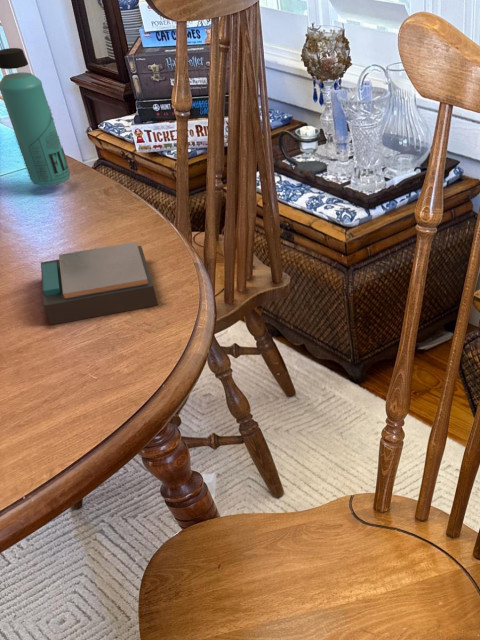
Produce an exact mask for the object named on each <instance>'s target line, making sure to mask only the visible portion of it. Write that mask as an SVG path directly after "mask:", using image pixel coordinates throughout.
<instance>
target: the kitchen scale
mask: <svg viewBox="0 0 480 640" xmlns="http://www.w3.org/2000/svg"><path fill="white" fill-rule="evenodd" d="M40 272H41V273H40V274H41V286H42V287H41V289H42V301H43V302H42V303H43V308H44V312H45V314H46V317H47V319H48V322H49V325H50V326H55V325H59V324H63V323H64V324H65V323H69V322H75V321H80V320H86V319H90V318H97V317H102V316H109V315H112V314H119V313H124V312H129V311H134V310H140V309H146V308H151V307H156V306H159V302H158V298H157V295H156V290H155V287H154V286H155V285H154V284H153V280H152V276H151V273H150V270H149V266H148V263H147V260H146V257H145V253H144V250H143V247H142V245H138V242H137V241H133V242H126V243H120V244H115V245H109V246H103V247H97V248H90V249H85V250H78V251H73V252H66V253H61V254H58V259H54V260H47V261H41V262H40Z"/></svg>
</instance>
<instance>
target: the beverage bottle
mask: <svg viewBox="0 0 480 640" xmlns="http://www.w3.org/2000/svg"><path fill="white" fill-rule="evenodd" d="M28 65H29V62H28V59H27V57H26V55H25V52H24V50H23V49H22V48H20V47H8V48H3V49H0V69H1V70H14V69H19V68H24V67H27V66H28ZM0 94H1V97H2V100H3V103H4V106H5V109H6V112H7V114H8V118H9V121H10V123H11V126H12V129H13V132H14V133H13V134H14V137H15V141H16V143H17V146H18V148H19V151H20V152H19V153H20V155H21V158H22V160H23V164H24V167H25V169H26V173H27V175H28V178H29V180H30V181H31V182H32V184H33V185H35V186H41V187H48V186H56V185H60V184H63V183H65V182H67V181H69V180H70V178H71V171H70V168H69V163H68V160H67V156H66V153H65V150H64V147H63V145H62V144H61V139H60V136H59V135H58V131H57V127H56V125H55V123H56V121H55V120H54V117H53V116H54V115H53V113H52V109H51V107H50V105H49V102H48V99H47V96H46V93H45V90H44V87H43V83H42V80H40V78H39V77H37V76H36V75H34V74H33V73H31V72H25V71H24V72H14V73H9V74H5V75H4V76H3V77H2V78H1V80H0Z"/></svg>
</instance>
